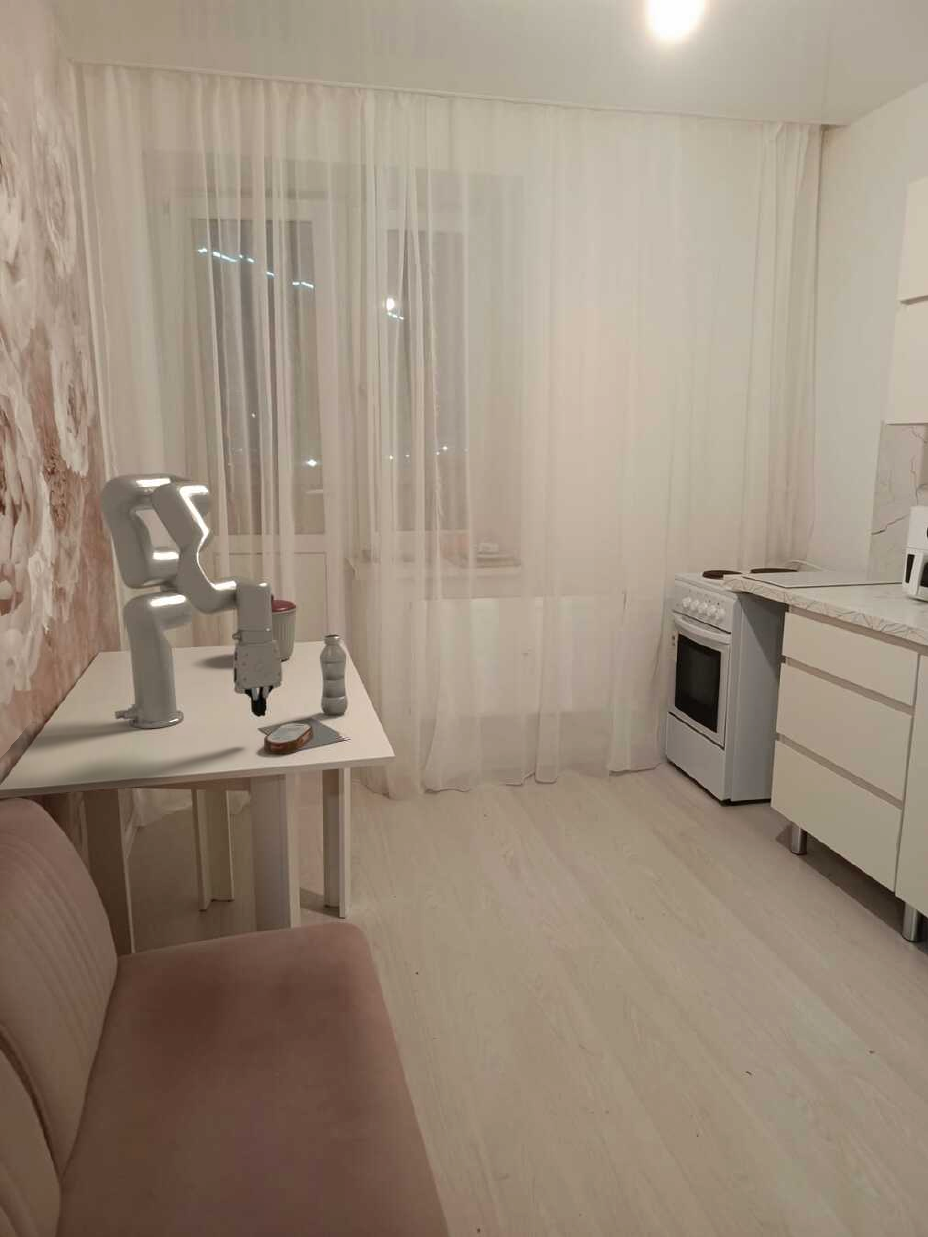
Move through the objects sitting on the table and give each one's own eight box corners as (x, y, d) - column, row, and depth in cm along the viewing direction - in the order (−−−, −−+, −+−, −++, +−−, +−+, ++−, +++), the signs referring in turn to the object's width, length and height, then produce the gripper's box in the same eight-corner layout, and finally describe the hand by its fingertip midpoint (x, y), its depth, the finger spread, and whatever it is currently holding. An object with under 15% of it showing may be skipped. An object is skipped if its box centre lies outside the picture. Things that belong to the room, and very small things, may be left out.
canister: (302, 663, 276) (299, 596, 272) (241, 667, 272) (237, 599, 267) (299, 650, 293) (296, 587, 289) (242, 654, 289) (238, 589, 285)
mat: (294, 752, 197) (294, 751, 197) (258, 729, 213) (258, 728, 213) (350, 739, 205) (350, 738, 205) (311, 718, 221) (311, 717, 221)
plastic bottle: (318, 711, 227) (315, 634, 223) (345, 708, 229) (342, 632, 225) (324, 718, 221) (321, 639, 217) (351, 715, 223) (348, 637, 219)
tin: (257, 752, 196) (293, 757, 195) (258, 739, 196) (294, 744, 194) (284, 731, 211) (318, 735, 209) (285, 718, 210) (319, 723, 208)
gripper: (229, 643, 191) (234, 725, 195) (293, 634, 200) (296, 713, 204) (216, 637, 197) (221, 716, 201) (279, 628, 206) (282, 705, 209)
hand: (259, 714), depth 202 cm, fingers closed
